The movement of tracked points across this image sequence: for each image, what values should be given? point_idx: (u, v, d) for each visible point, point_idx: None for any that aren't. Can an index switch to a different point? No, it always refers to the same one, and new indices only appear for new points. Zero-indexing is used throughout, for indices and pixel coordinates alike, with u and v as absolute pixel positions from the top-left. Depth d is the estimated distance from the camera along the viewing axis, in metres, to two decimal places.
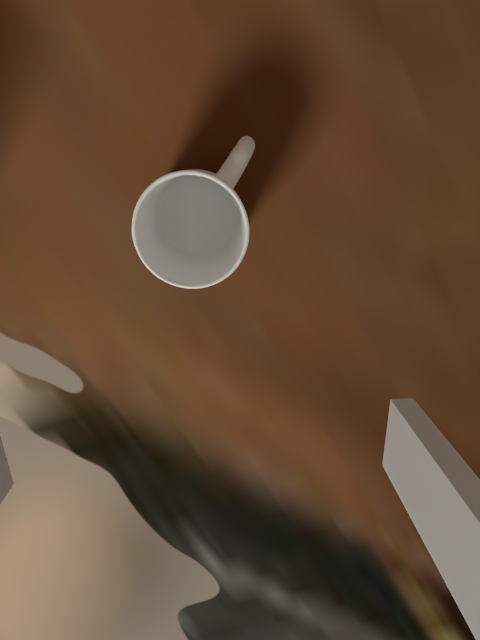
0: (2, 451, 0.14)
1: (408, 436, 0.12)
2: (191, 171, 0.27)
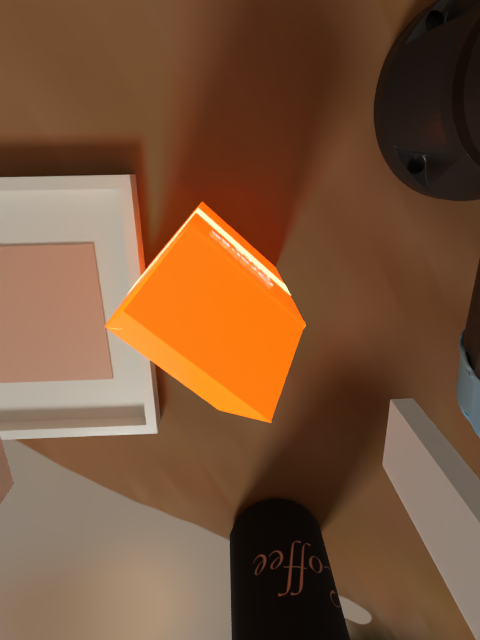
0: (2, 450, 0.14)
1: (408, 436, 0.12)
2: None
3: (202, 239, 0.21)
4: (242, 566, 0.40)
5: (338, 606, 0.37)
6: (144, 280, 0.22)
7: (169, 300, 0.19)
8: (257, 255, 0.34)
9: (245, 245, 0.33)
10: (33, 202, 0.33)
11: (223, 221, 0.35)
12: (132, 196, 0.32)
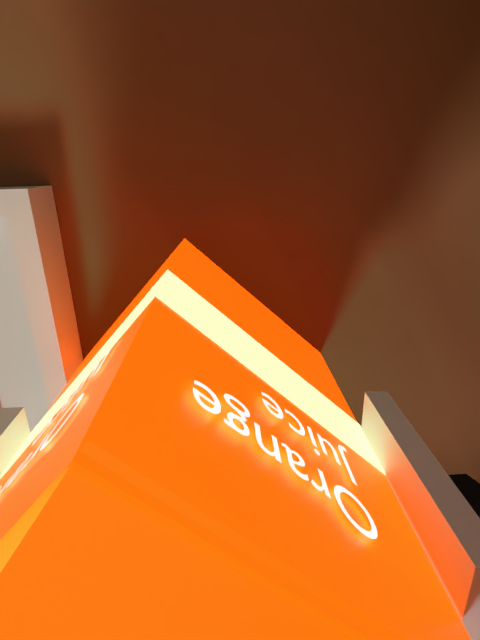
0: None
1: (379, 427, 0.13)
2: None
3: (140, 513, 0.05)
4: None
5: None
6: None
7: None
8: (294, 347, 0.17)
9: (271, 331, 0.16)
10: None
11: (226, 276, 0.18)
12: (38, 232, 0.16)
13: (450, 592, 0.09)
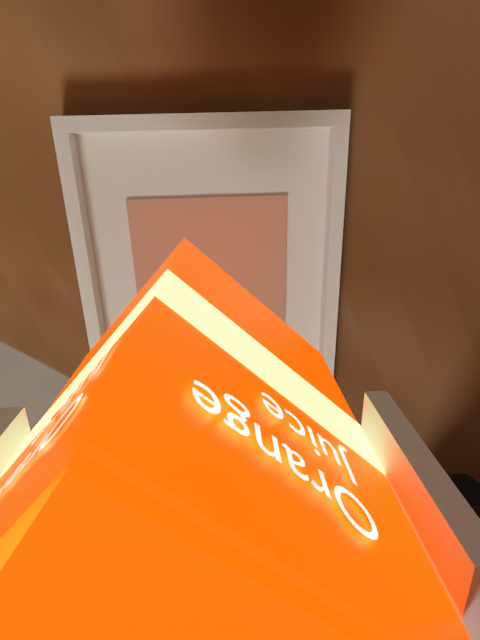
0: None
1: (379, 427, 0.13)
2: None
3: (139, 515, 0.05)
4: None
5: None
6: None
7: None
8: (294, 347, 0.17)
9: (271, 331, 0.16)
10: (227, 145, 0.29)
11: (226, 276, 0.18)
12: None
13: (450, 592, 0.09)
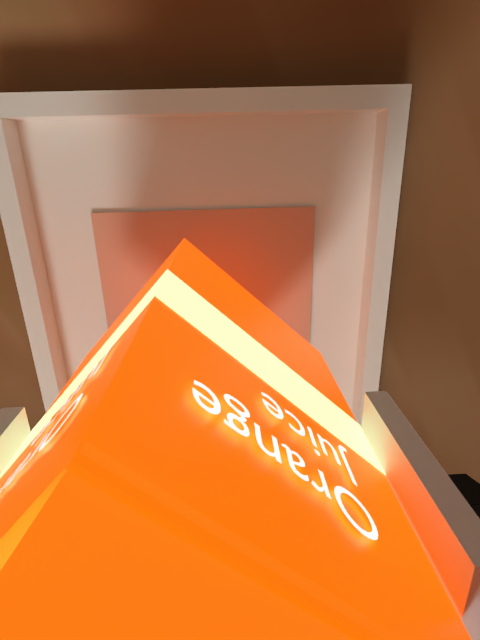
0: None
1: (379, 426, 0.13)
2: None
3: (139, 515, 0.05)
4: None
5: None
6: None
7: None
8: (294, 347, 0.17)
9: (271, 331, 0.16)
10: (232, 137, 0.21)
11: (226, 276, 0.18)
12: None
13: (449, 592, 0.09)
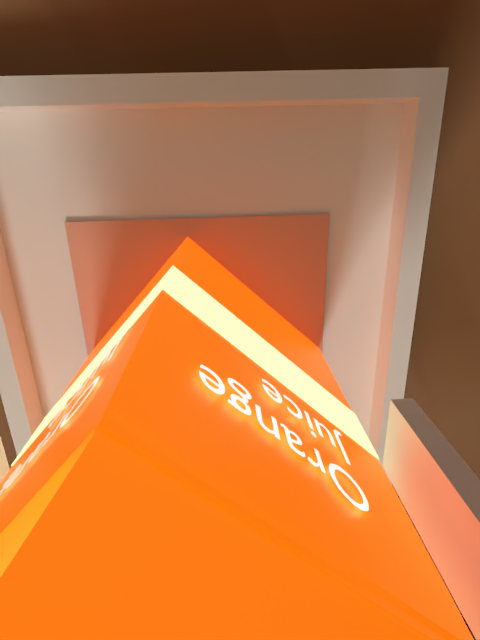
0: (2, 451, 0.14)
1: (408, 437, 0.12)
2: None
3: (157, 471, 0.05)
4: None
5: None
6: None
7: None
8: (292, 341, 0.18)
9: (271, 325, 0.17)
10: (232, 132, 0.17)
11: (227, 273, 0.19)
12: None
13: None
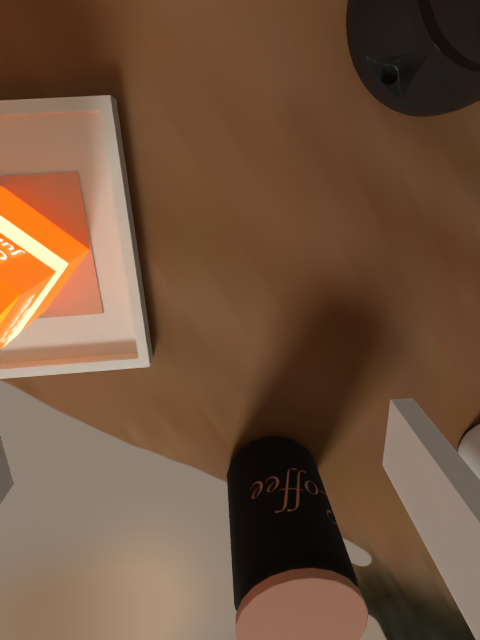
0: (2, 450, 0.14)
1: (408, 436, 0.12)
2: None
3: None
4: (239, 495, 0.41)
5: (335, 523, 0.38)
6: None
7: None
8: (53, 237, 0.34)
9: (36, 227, 0.33)
10: (16, 129, 0.34)
11: (24, 205, 0.35)
12: (114, 118, 0.33)
13: None
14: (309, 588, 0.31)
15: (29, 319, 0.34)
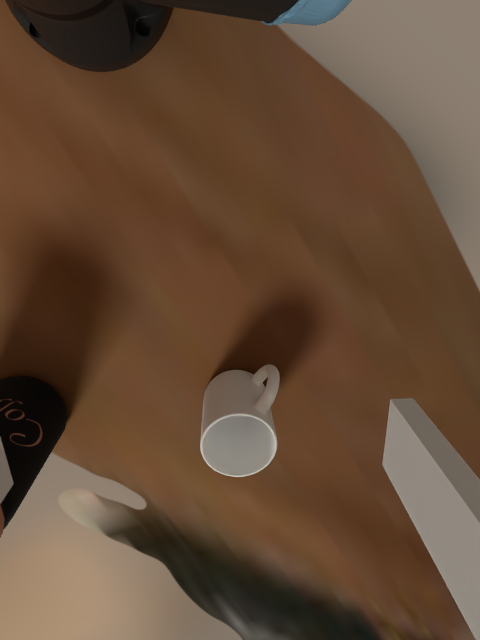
0: (2, 451, 0.14)
1: (408, 436, 0.12)
2: (240, 414, 0.42)
3: None
4: None
5: (19, 444, 0.41)
6: None
7: None
8: None
9: None
10: None
11: None
12: None
13: None
14: None
15: None
